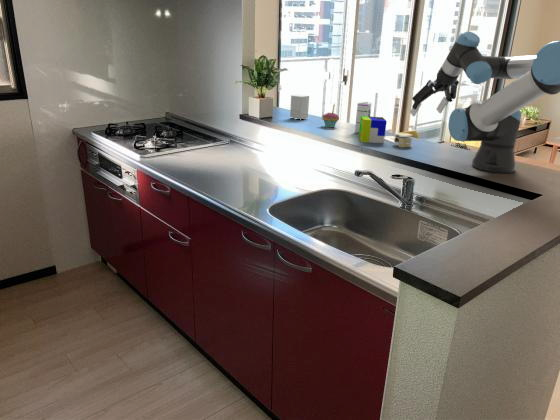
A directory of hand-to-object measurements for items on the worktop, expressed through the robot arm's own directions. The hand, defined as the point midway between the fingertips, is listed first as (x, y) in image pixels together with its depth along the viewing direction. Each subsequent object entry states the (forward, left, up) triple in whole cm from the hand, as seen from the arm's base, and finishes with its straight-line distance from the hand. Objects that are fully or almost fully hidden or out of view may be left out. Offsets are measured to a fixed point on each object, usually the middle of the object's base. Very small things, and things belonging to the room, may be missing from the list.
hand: (425, 112), depth 200 cm
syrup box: (+39, +8, -16) cm, 43 cm away
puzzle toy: (+21, +12, -16) cm, 29 cm away
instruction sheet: (+22, 0, -16) cm, 27 cm away
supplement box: (+76, +28, -16) cm, 83 cm away
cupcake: (+53, +19, -16) cm, 59 cm away
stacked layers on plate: (+9, +3, -17) cm, 19 cm away
